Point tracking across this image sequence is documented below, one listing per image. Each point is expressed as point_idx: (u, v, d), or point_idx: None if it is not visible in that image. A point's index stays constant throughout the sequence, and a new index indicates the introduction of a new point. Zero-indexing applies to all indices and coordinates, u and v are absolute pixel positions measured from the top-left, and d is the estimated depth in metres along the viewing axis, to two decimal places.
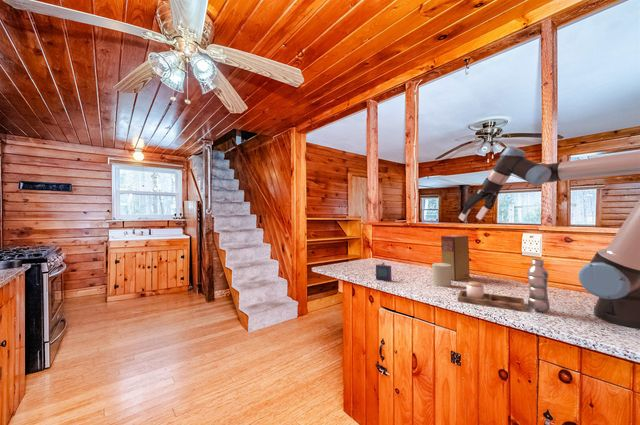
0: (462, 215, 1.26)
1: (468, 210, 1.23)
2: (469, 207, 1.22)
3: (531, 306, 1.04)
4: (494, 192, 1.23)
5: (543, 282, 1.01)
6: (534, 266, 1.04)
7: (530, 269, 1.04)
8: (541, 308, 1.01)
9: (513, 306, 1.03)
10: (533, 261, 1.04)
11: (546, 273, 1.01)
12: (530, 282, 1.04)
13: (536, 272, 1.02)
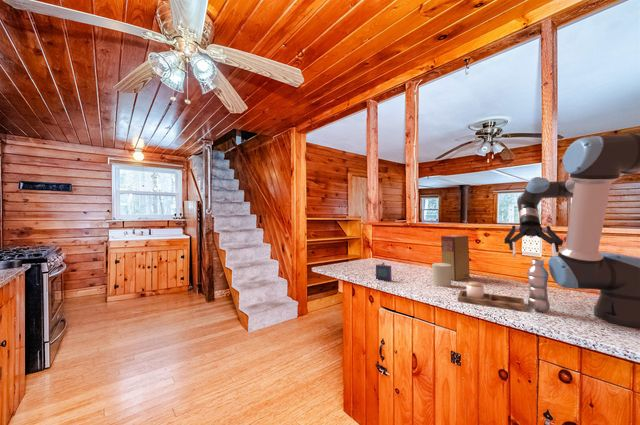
0: (513, 251, 1.18)
1: (512, 243, 1.19)
2: (509, 240, 1.21)
3: (531, 306, 1.04)
4: (539, 226, 1.20)
5: (543, 282, 1.01)
6: (534, 266, 1.04)
7: (530, 269, 1.04)
8: (541, 308, 1.01)
9: (513, 306, 1.03)
10: (533, 261, 1.04)
11: (546, 273, 1.01)
12: (530, 282, 1.04)
13: (536, 272, 1.02)
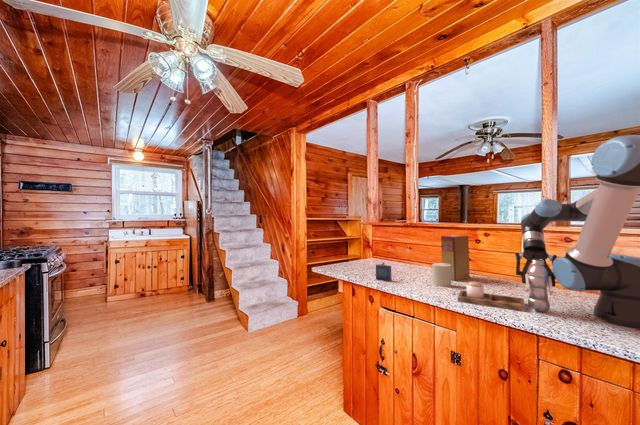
0: (526, 285, 1.05)
1: (525, 275, 1.06)
2: (521, 272, 1.08)
3: (531, 306, 1.04)
4: (545, 253, 1.09)
5: (543, 282, 1.01)
6: (534, 266, 1.04)
7: (530, 269, 1.04)
8: (541, 308, 1.01)
9: (513, 306, 1.03)
10: (533, 261, 1.04)
11: (546, 273, 1.01)
12: (530, 282, 1.04)
13: (536, 272, 1.02)
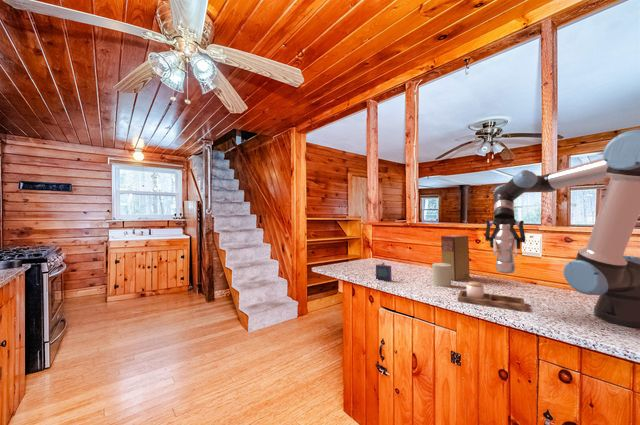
0: (493, 249, 1.09)
1: (493, 240, 1.11)
2: (490, 237, 1.12)
3: (498, 268, 1.09)
4: (513, 219, 1.14)
5: (509, 245, 1.06)
6: (501, 230, 1.08)
7: (497, 233, 1.09)
8: (506, 269, 1.06)
9: (513, 306, 1.03)
10: (500, 225, 1.09)
11: (512, 236, 1.06)
12: (497, 246, 1.09)
13: (503, 236, 1.07)
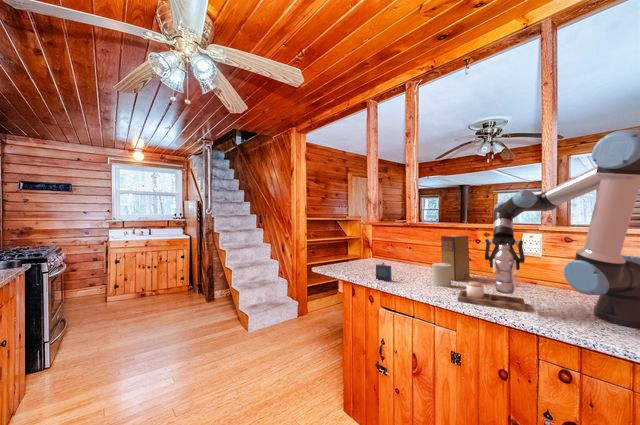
0: None
1: (492, 260, 1.11)
2: (489, 257, 1.13)
3: (497, 289, 1.09)
4: (512, 239, 1.14)
5: (508, 265, 1.06)
6: (500, 251, 1.09)
7: (497, 254, 1.09)
8: (506, 290, 1.06)
9: (513, 306, 1.03)
10: (500, 246, 1.09)
11: (511, 257, 1.06)
12: (497, 266, 1.09)
13: (502, 257, 1.07)
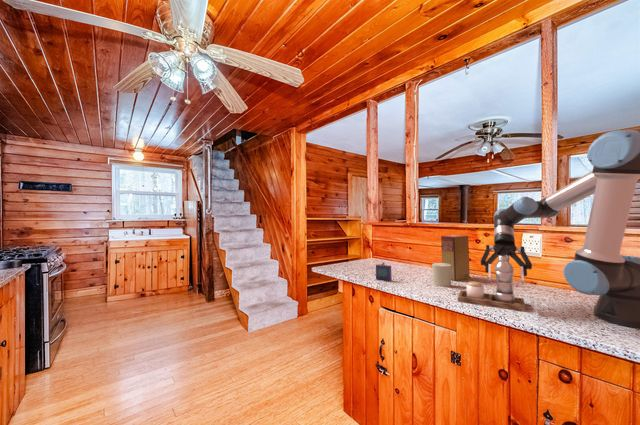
0: None
1: (488, 265, 1.12)
2: (485, 262, 1.14)
3: (498, 300, 1.09)
4: (513, 246, 1.14)
5: (508, 276, 1.06)
6: (500, 262, 1.09)
7: (497, 264, 1.09)
8: (506, 301, 1.06)
9: (513, 306, 1.03)
10: (499, 257, 1.09)
11: (511, 268, 1.06)
12: (497, 277, 1.09)
13: (502, 268, 1.07)
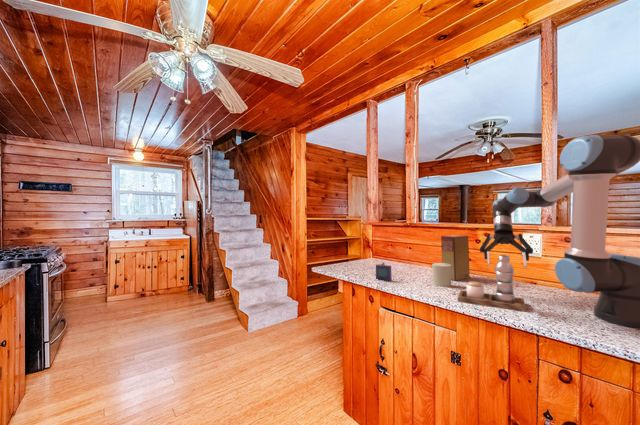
0: None
1: (487, 252, 1.25)
2: (484, 249, 1.27)
3: (498, 300, 1.09)
4: (512, 234, 1.25)
5: (508, 277, 1.06)
6: (500, 262, 1.08)
7: (497, 265, 1.09)
8: (506, 301, 1.06)
9: (513, 306, 1.03)
10: (500, 257, 1.09)
11: (511, 268, 1.06)
12: (497, 277, 1.09)
13: (502, 268, 1.07)
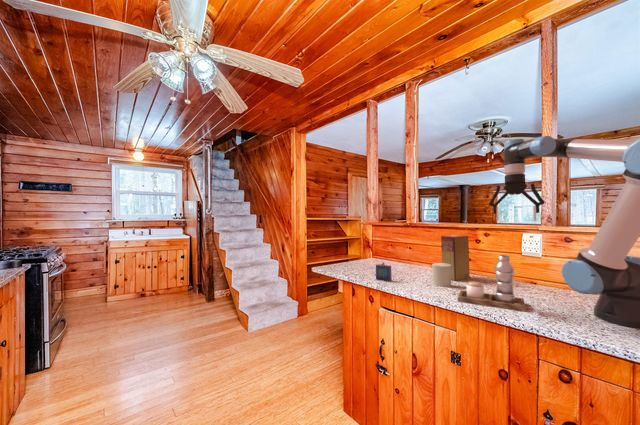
0: None
1: (496, 208, 1.24)
2: (493, 204, 1.24)
3: (498, 300, 1.09)
4: (523, 185, 1.18)
5: (508, 277, 1.06)
6: (500, 262, 1.08)
7: (497, 265, 1.09)
8: (506, 301, 1.06)
9: (513, 306, 1.03)
10: (500, 257, 1.09)
11: (511, 268, 1.06)
12: (497, 277, 1.09)
13: (502, 268, 1.07)
